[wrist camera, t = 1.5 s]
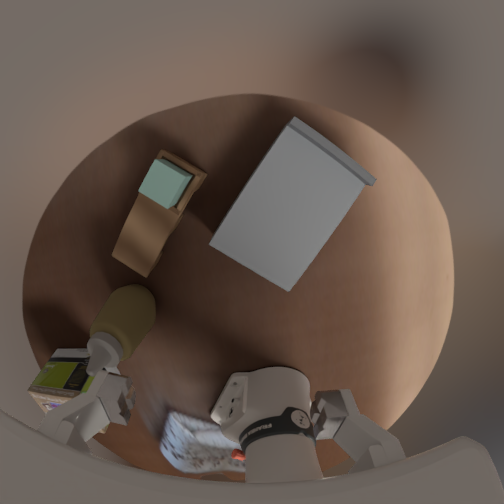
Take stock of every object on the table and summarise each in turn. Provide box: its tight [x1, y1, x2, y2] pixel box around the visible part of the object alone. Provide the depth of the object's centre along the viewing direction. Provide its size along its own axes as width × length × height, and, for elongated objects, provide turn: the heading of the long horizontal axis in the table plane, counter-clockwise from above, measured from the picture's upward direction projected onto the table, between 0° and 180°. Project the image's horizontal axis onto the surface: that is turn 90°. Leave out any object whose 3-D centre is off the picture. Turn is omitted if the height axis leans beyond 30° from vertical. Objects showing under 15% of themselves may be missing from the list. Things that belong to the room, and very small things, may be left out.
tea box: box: [28, 349, 121, 433], centre depth 39 cm, size 15×10×15 cm, turn 101°
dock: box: [209, 116, 377, 292], centre depth 33 cm, size 18×12×7 cm, turn 147°
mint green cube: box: [138, 159, 193, 209], centre depth 29 cm, size 4×4×4 cm
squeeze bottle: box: [86, 284, 156, 377], centre depth 32 cm, size 8×8×18 cm
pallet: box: [111, 149, 208, 278], centre depth 34 cm, size 16×6×5 cm, turn 147°
